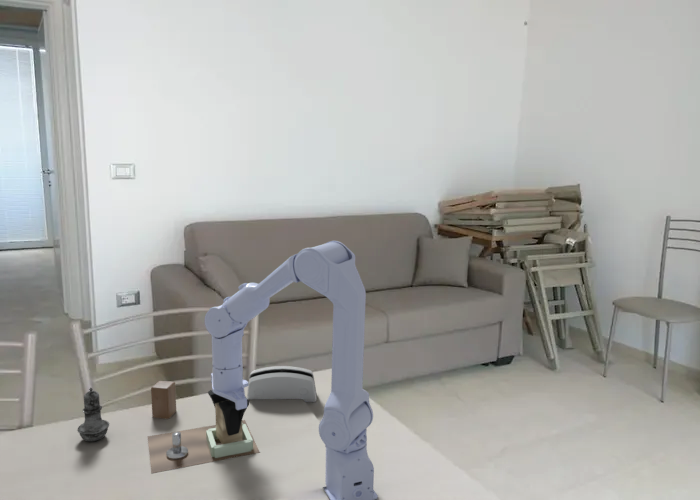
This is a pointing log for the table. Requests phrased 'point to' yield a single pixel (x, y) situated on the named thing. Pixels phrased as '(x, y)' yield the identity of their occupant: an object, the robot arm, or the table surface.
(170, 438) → the walnut board
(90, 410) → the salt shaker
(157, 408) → the wooden block
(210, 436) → the socket collar
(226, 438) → the maple peg
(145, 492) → the table surface
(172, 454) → the metal post
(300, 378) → the white rounded block
